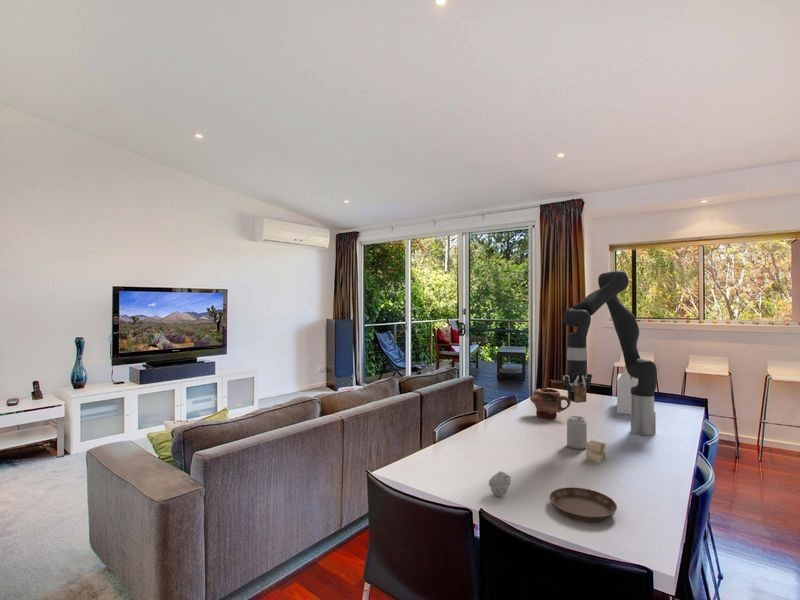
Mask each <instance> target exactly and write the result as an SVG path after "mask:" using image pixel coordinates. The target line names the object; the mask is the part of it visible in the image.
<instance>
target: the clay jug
mask: <svg viewBox="0 0 800 600" xmlns="http://www.w3.org/2000/svg"><path fill="white" fill-rule="evenodd" d="M529 400H530V401H531V402H532V404H533V405H534V406H535V409H536V412H535V414H536V417H537V418H539V419H542V420H548V421H549V420H551V421H552V420H554V419H557V413H561V412H563V411H565V410H567V409H568V408H569V407H570V406H571V402H572V401H569V400H568V396H565V395H562V394H561V393H560V392H559V390H557V389H556V390H555V389H553V388H537V389H535V390H534V391H533V395H531V396H530V398H529ZM562 401H566V403H567V405H566V406H565V407H562Z"/></svg>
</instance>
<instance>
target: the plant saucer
mask: <svg viewBox="0 0 800 600" xmlns="http://www.w3.org/2000/svg"><path fill="white" fill-rule="evenodd" d="M549 501H550V502H551V504H552V506H553V507H554V508H555V509H556V511H558V512H559V513H560V515H562V516H565V517H567V518H569V519H571V520H573V521H577V522H582V523H589V524H590V523H591V524H595V523H597V524H598V523H603V522H605V521H608V520H609V519H610V518H612V517H613V515H615V513H616V512H617V510H618V505H617V503H616V502H615V501H614V499H612V498H611V497H610V496H608V495H606V494H604V493H602V492H599V491H596V490H593V489H588V488H583V487H574V486H573V487H571V486H570V487H569V486H568V487H561V488H557V489H555V490H552V492H551V493H550V494H549Z"/></svg>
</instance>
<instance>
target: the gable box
mask: <svg viewBox="0 0 800 600" xmlns="http://www.w3.org/2000/svg"><path fill="white" fill-rule="evenodd" d="M637 385H638V379H637V378H633V377H631V376H630V375H629V374H628V372H627V369H626V365H625V364H624V367H623V368H622V370H620V372H618V374H617V379H616V413H617V414H626V415H631V387H634V386H637Z"/></svg>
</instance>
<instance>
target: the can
mask: <svg viewBox="0 0 800 600" xmlns="http://www.w3.org/2000/svg"><path fill="white" fill-rule="evenodd" d="M585 418H586V417H583V416H580V415H570V416H568V419H567V420H566V444H567V445H568V447H569V448H571V449H573V450H575V449H576V450H584V449H586V443H587V442H588V440H587V439H588V438H587V437H588V436H587V435H588V433H587V431H588V430H587V429H588V426H587V425H588V424H587V421H586V419H585Z"/></svg>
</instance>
